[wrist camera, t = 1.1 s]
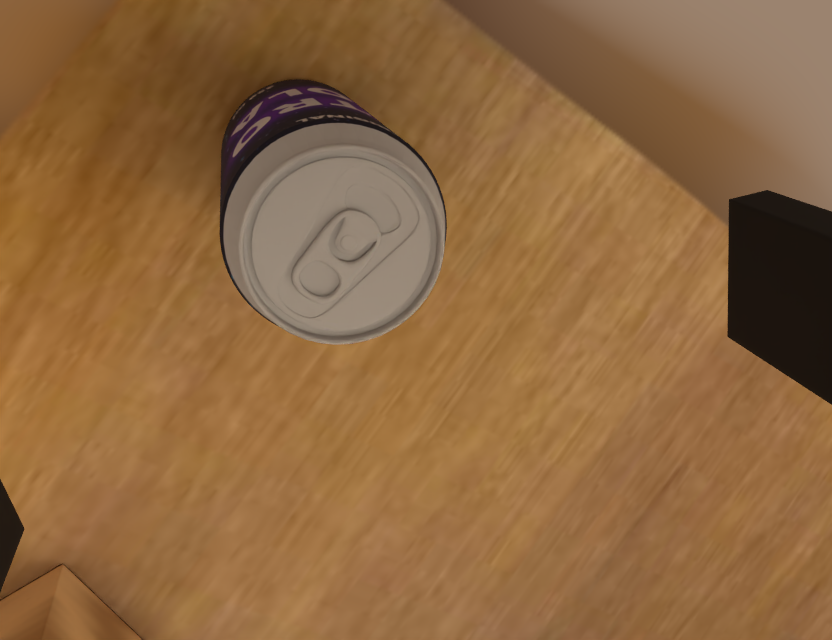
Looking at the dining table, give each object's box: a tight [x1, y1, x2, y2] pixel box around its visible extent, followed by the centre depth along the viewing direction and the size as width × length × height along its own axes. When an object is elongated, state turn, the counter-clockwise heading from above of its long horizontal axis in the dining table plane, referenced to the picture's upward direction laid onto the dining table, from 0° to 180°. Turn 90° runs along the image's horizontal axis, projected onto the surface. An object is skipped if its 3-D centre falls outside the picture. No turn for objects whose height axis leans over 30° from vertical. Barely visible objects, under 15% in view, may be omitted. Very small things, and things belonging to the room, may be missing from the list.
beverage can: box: [220, 79, 447, 345], centre depth 23 cm, size 6×6×12 cm
